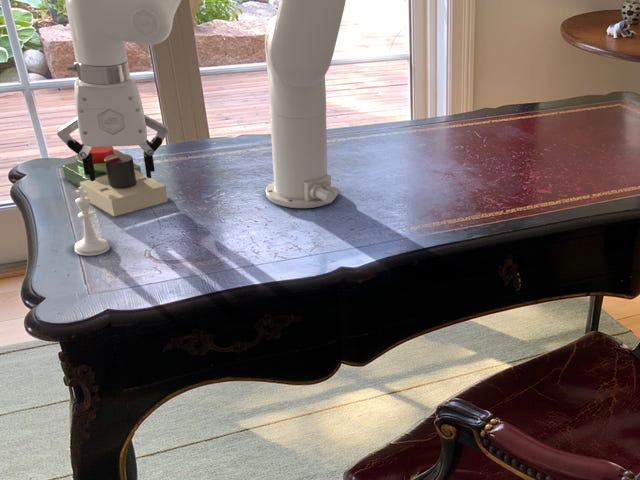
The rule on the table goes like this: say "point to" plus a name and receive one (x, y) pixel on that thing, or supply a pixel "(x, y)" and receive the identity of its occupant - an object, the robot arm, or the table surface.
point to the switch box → (77, 173)
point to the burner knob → (120, 170)
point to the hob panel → (124, 194)
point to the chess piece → (88, 229)
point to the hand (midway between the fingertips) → (121, 176)
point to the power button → (101, 153)
